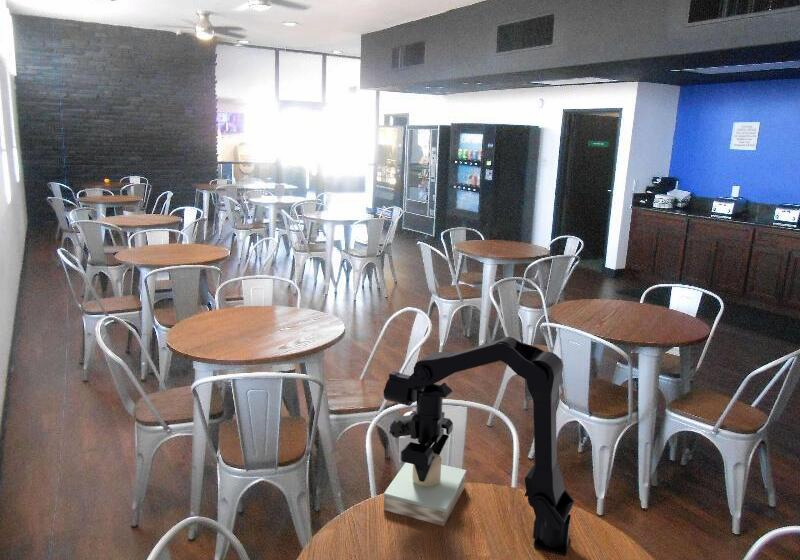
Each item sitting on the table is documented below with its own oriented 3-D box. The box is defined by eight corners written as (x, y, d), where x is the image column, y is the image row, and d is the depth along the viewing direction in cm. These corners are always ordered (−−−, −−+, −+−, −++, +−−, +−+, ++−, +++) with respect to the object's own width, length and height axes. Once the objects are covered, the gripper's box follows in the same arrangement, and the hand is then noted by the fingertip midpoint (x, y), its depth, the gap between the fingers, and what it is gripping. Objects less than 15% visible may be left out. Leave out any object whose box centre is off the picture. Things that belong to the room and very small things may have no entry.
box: (464, 487, 141) (465, 475, 140) (443, 526, 126) (444, 513, 125) (409, 473, 146) (410, 462, 145) (383, 509, 131) (384, 497, 130)
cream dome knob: (444, 474, 136) (445, 454, 135) (435, 489, 131) (436, 468, 129) (418, 468, 139) (418, 449, 138) (408, 482, 133) (408, 462, 132)
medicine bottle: (428, 451, 157) (429, 409, 154) (426, 465, 150) (428, 421, 147) (401, 449, 157) (402, 407, 155) (398, 463, 150) (399, 419, 148)
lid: (466, 473, 140) (466, 470, 139) (446, 512, 126) (446, 509, 125) (409, 459, 145) (409, 457, 145) (383, 496, 131) (383, 493, 131)
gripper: (410, 388, 142) (408, 447, 146) (378, 420, 125) (377, 486, 129) (454, 396, 138) (451, 457, 142) (428, 431, 121) (425, 498, 125)
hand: (426, 473), depth 134 cm, fingers closed on cream dome knob, 6 cm apart
